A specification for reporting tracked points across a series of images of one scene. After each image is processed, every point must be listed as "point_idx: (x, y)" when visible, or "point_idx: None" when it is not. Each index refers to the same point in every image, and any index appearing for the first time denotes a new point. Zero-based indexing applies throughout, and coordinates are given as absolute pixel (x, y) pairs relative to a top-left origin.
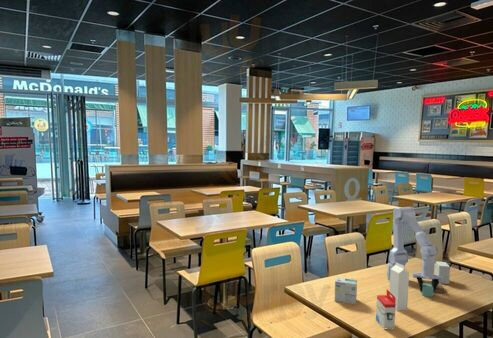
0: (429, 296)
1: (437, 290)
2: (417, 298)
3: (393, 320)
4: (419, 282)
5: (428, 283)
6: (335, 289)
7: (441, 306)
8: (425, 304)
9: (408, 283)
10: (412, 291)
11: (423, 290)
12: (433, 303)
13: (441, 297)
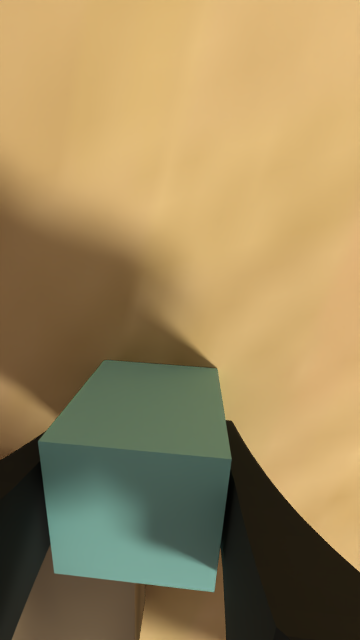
0: (140, 364)
1: None
2: (311, 276)
3: None
4: (343, 571)
5: (88, 608)
6: None
7: (50, 83)
8: (266, 85)
9: None
10: (297, 454)
11: (213, 410)
12: (139, 163)
13: (15, 370)
